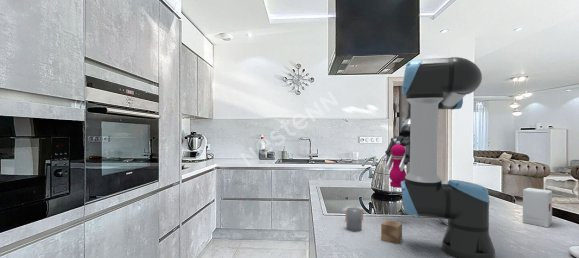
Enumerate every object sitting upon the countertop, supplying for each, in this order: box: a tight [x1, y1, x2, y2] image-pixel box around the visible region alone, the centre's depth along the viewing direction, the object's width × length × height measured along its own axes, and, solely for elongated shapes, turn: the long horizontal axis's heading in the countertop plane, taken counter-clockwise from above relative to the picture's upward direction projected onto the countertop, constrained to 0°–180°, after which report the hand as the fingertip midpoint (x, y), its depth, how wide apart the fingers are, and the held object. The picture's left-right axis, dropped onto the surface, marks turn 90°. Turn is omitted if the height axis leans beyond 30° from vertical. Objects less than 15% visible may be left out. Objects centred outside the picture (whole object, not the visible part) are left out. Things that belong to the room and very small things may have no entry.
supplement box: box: [522, 187, 553, 228], centre depth 130 cm, size 9×9×15 cm
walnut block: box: [380, 219, 403, 245], centre depth 108 cm, size 6×6×6 cm
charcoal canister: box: [346, 207, 363, 233], centre depth 119 cm, size 6×6×8 cm
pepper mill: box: [388, 141, 407, 189], centre depth 128 cm, size 7×7×20 cm
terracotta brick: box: [344, 207, 364, 223], centre depth 130 cm, size 4×8×5 cm, turn 135°
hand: (394, 168), depth 125 cm, fingers closed on pepper mill, 5 cm apart
